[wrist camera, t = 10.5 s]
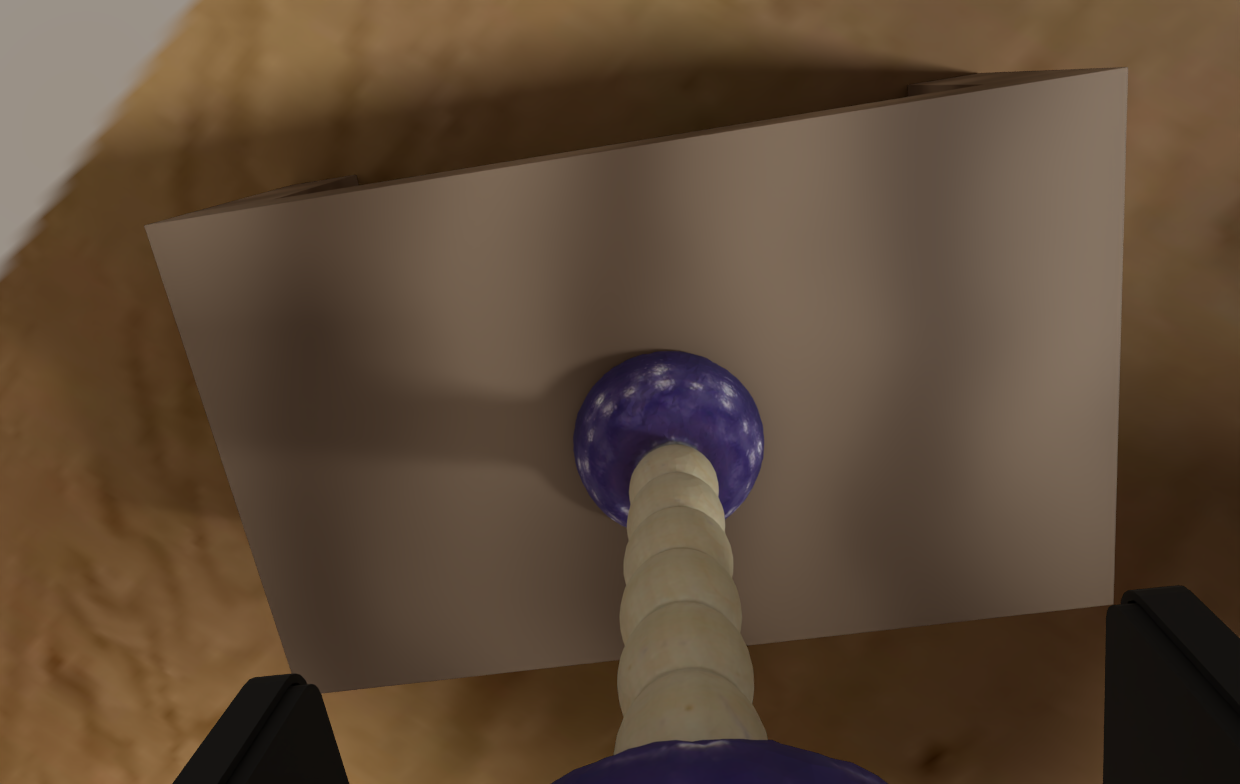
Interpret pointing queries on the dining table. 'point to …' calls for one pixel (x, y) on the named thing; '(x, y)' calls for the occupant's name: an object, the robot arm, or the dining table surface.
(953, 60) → the dining table surface
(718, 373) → the toy lamp
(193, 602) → the dining table surface
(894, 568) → the walnut shelf
